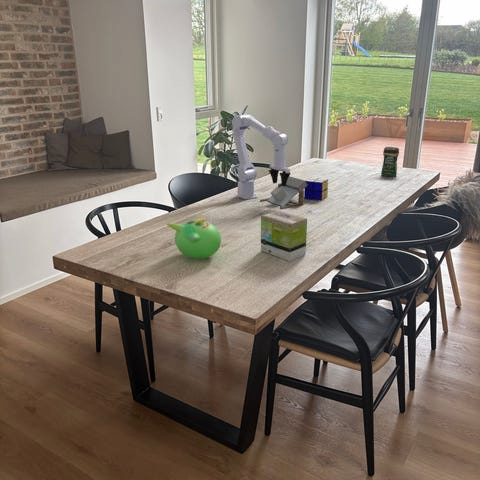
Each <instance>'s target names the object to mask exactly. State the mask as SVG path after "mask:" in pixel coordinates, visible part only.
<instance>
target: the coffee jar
mask: <svg viewBox="0 0 480 480" xmlns="http://www.w3.org/2000/svg"><path fill="white" fill-rule="evenodd" d="M382 155H383V161H382V168H381V171H380V172H381V173H380V175H381V176H383V177H391V178H394V177H397V175H398V158H399V155H400V148H399V147H396V146H395V147H394V146H385V147H384V149H383V152H382Z"/></svg>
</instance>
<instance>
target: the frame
mask: <svg viewBox="0 0 480 480" xmlns="http://www.w3.org/2000/svg"><path fill="white" fill-rule="evenodd" d="M281 185H282V184H281V183H277V187H279V188H280V187H281ZM304 190H305V189H303V190H299V192H298V201H296V200H294V199H291V200H290V201H289V202H288V203H292V204H289V205H288V204H287V205H285V206H283V207H282V206H279V209H280V210H283V209H288V208H293V207H298V206H299V207H300V206H304V203H305V202H304ZM269 198H270V197H267V198H262V199H259V201H260V202H266V201H267V200H268V199H269ZM267 202H268V201H267Z"/></svg>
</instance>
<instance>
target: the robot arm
mask: <svg viewBox="0 0 480 480" xmlns="http://www.w3.org/2000/svg"><path fill="white" fill-rule="evenodd" d="M231 126H232V137H233V140H234V144H235V148H236V154H237V156H238V157H237V158H238V161H239V162H238V163H239V166H238V168H237V177H238V178H237V179H238V180H239V181H238V182H237V195H236V197H239V198H240V199H244V200H250V199H256V198H258V196H257V195H255V180H256V178H257V176H258V172H257V170H256V168H255V166H254V164H253V163H252V162H250V157H249V152H248V149H247V144H246V139H245V136H244V133H245V131H246V130H247V129H248V128H249V127H251V128H254V129H255V130H257V131H259V132H261V133H262V137H264V138H266V139H267V140H268V141H270V142H271V143H272V145H273V150H274V151H273V153H274V155H273V156H274V157H273V164H269V170H268V173H269V174H270V176H271V180H272V184H278V177H279V175H280V181H281V184H282V186H286V183H287V180H288V177H289V176H290V175H291V172H290V171H291V169H290V168H289V167H287V166H286V153H287V150H286V149H287V146H286V145H287V144H288V143H289V137H288V135H287V134H286V133H283V132H282V133H280V131H278V130H275V128H274V127H273V126H269V125H268V126H265V125H264V124H263V123H261V122H260V121H259V120H257V119H256V118H255V117H254V116H253V115H251V114H249V113H245V114H237V115H235V116H234V117H233V118H232V119H231ZM290 177H291V176H290Z"/></svg>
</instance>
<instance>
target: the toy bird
mask: <svg viewBox="0 0 480 480" xmlns="http://www.w3.org/2000/svg"><path fill="white" fill-rule="evenodd" d="M205 219H206V218H205V217H202V218H198V219H194V220H188V221H186V222H184V223H181V224H179V223H173V222H167V224H166V225H167V226H168V227H170V228H171V229H172V230H174V231H176V232H175V234H174V243H175V246H176V248H177V249H178V251H179V252H180V253H181V254H183V255H184V256H186V257H187V258H191V259H197V260H198V259H206V258H210V257H212V256H214V255H215V254H216V253H217V252H218V251H219V249H220V246H221V244H222V237H221V232H220V231H219V230H218V228H217V227H216V226H215V225H213V224H212V223H211V222H209V221H206V220H205Z"/></svg>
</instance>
